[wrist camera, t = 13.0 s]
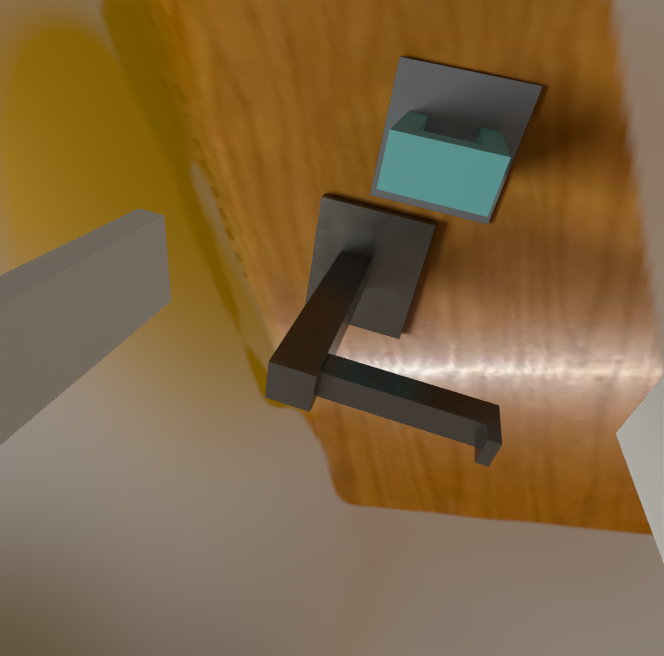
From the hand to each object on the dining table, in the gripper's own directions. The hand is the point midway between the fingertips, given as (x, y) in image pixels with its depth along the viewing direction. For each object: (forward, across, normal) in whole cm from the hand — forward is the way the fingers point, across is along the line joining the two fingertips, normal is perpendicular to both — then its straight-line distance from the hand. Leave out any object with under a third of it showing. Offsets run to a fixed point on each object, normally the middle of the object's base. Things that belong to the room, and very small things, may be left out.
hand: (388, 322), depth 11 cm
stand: (+27, -1, -12) cm, 29 cm away
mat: (+27, 0, 0) cm, 27 cm away
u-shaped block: (+26, 0, 0) cm, 26 cm away
